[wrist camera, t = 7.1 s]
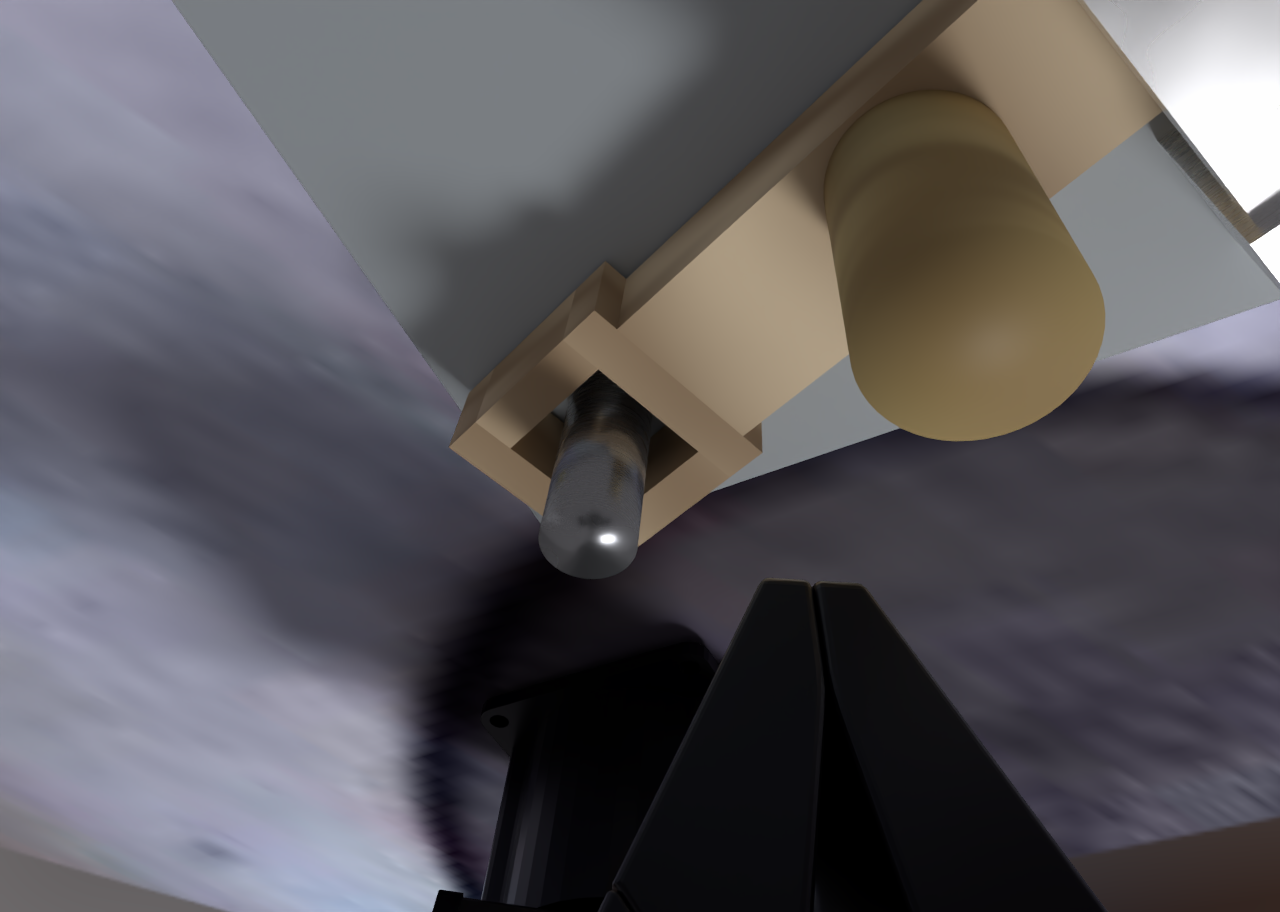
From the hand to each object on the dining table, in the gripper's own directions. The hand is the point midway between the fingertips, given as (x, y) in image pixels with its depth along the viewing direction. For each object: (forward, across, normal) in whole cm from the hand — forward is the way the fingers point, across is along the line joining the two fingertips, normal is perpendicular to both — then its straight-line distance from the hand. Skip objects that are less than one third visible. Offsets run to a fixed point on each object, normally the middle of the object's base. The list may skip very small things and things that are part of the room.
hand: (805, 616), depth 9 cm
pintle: (+11, +3, +5) cm, 12 cm away
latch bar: (+10, -1, +1) cm, 11 cm away
